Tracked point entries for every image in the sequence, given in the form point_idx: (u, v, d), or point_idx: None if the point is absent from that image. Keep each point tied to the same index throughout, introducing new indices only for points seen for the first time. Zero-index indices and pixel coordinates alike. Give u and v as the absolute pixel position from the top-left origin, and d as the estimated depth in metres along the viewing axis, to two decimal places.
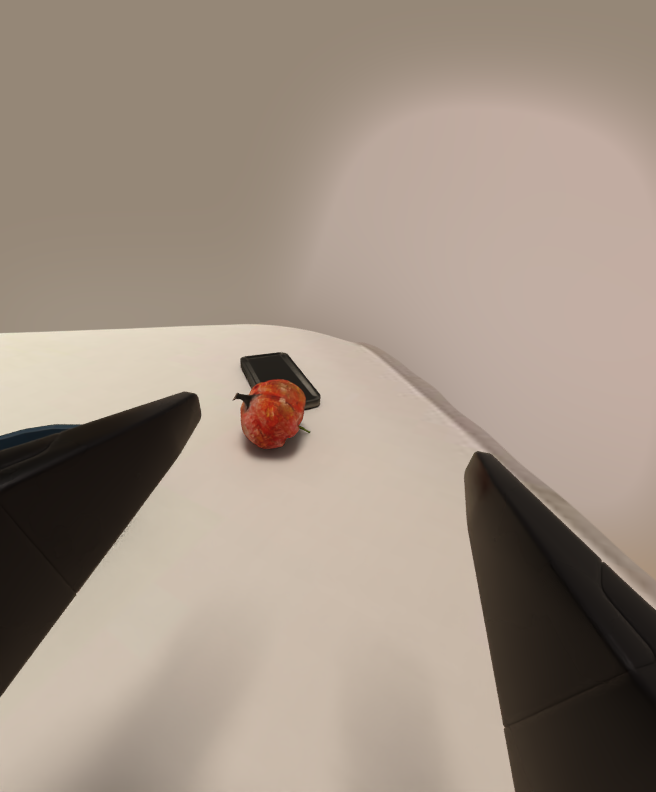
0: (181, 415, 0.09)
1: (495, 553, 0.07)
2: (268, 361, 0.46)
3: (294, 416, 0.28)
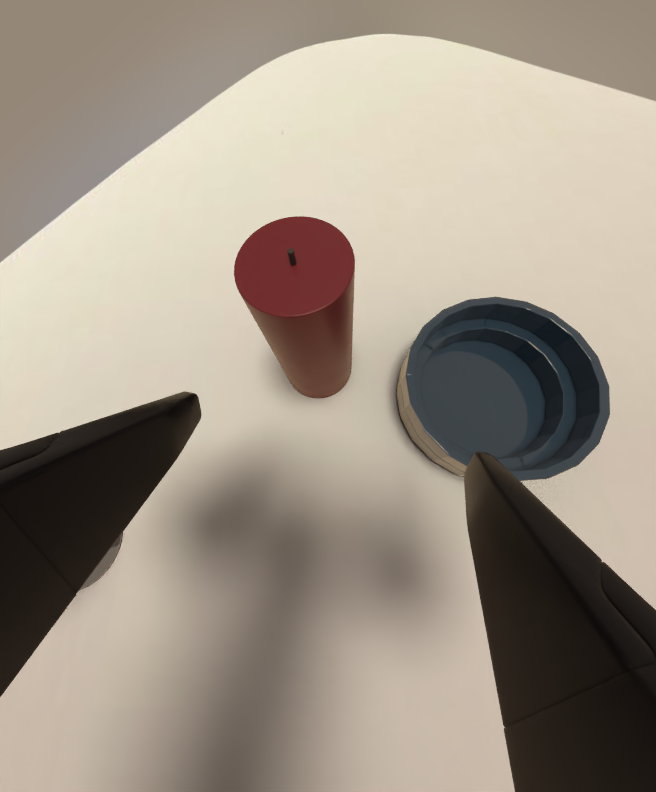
0: (181, 415, 0.09)
1: (495, 553, 0.07)
2: None
3: None
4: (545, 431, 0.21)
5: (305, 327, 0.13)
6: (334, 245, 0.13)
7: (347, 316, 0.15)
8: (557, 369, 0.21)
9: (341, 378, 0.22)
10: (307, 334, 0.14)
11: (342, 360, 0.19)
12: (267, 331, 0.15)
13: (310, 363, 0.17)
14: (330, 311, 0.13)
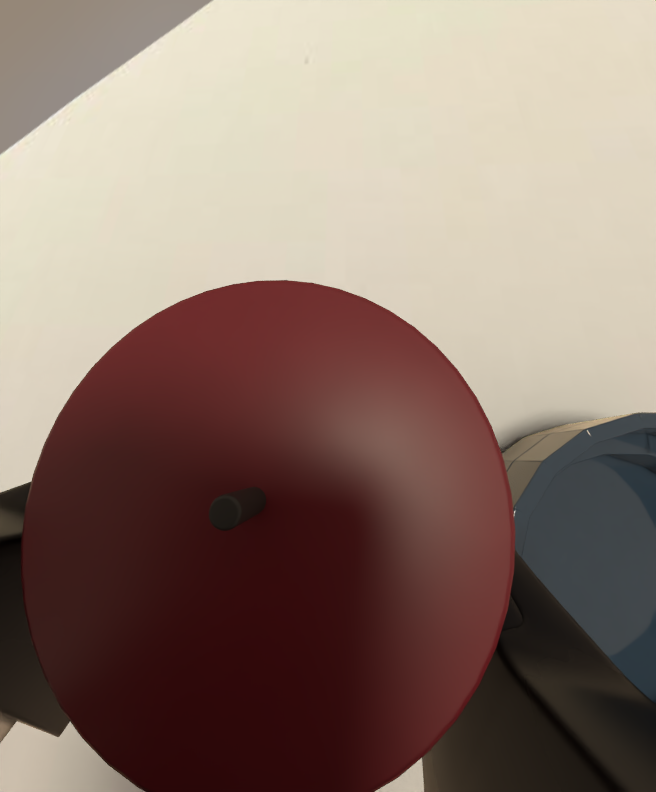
0: None
1: None
2: None
3: None
4: None
5: None
6: (428, 435, 0.03)
7: None
8: None
9: None
10: None
11: None
12: None
13: None
14: None
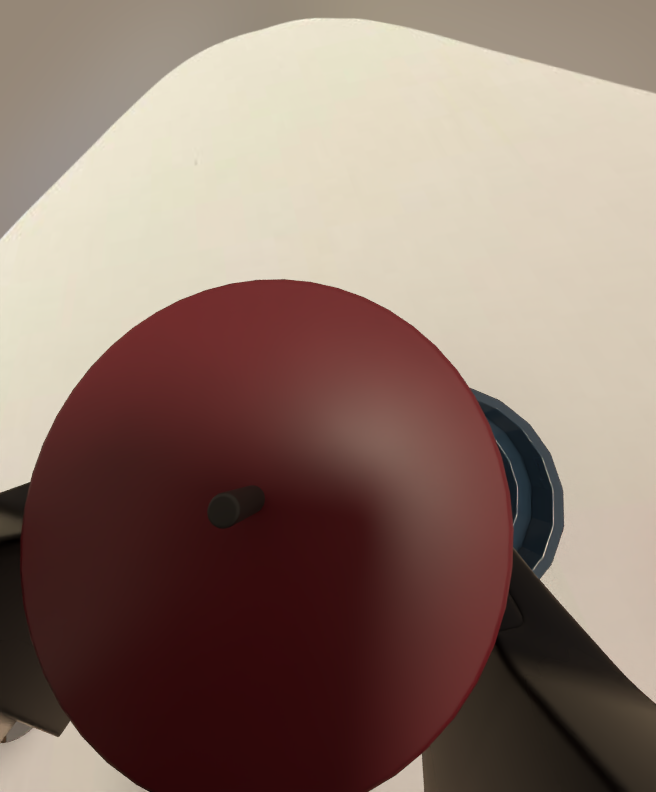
0: None
1: None
2: None
3: None
4: None
5: None
6: (427, 434, 0.03)
7: None
8: (509, 457, 0.19)
9: None
10: None
11: None
12: None
13: None
14: None
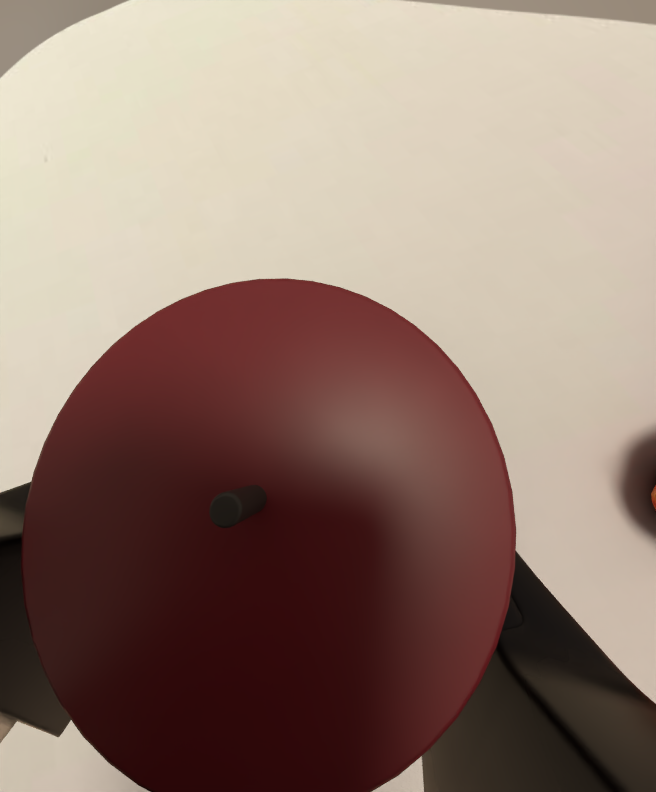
0: None
1: None
2: None
3: None
4: None
5: None
6: (429, 433, 0.03)
7: None
8: None
9: None
10: None
11: None
12: None
13: None
14: None
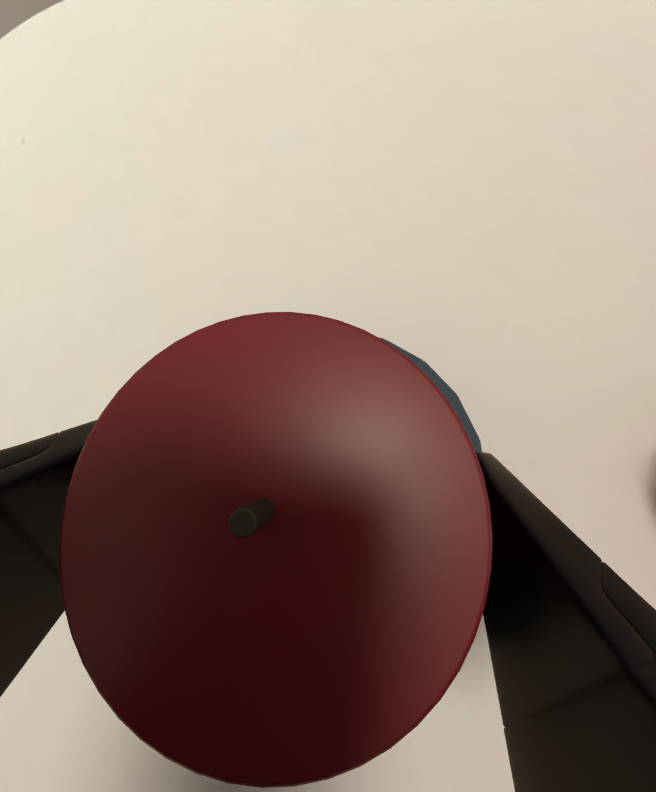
0: None
1: (495, 553, 0.07)
2: None
3: None
4: None
5: None
6: (417, 452, 0.04)
7: None
8: None
9: None
10: None
11: None
12: None
13: None
14: None
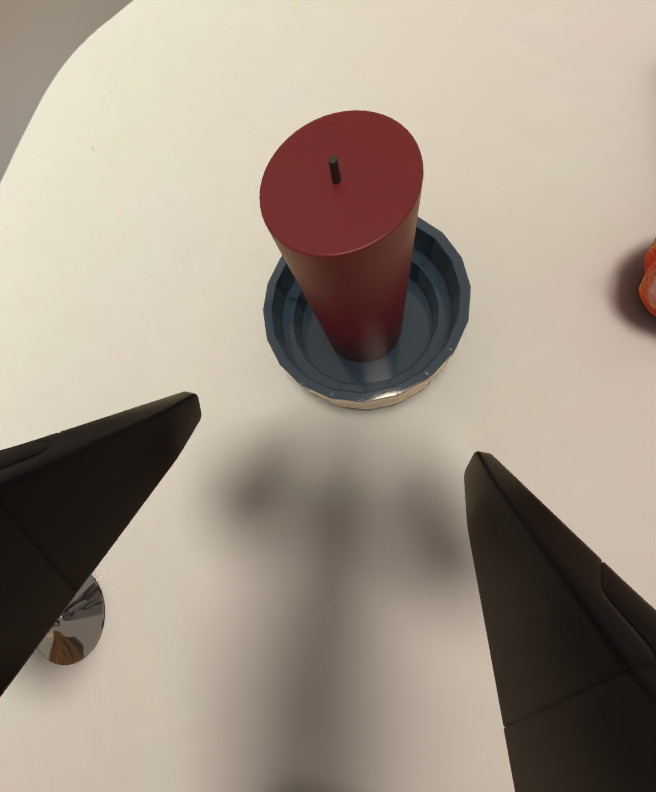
0: (181, 415, 0.09)
1: (495, 553, 0.07)
2: None
3: None
4: (433, 329, 0.20)
5: (358, 269, 0.10)
6: (391, 145, 0.09)
7: (409, 251, 0.11)
8: (419, 263, 0.20)
9: (393, 336, 0.19)
10: (360, 279, 0.11)
11: (397, 314, 0.16)
12: (307, 282, 0.12)
13: (360, 319, 0.14)
14: (392, 242, 0.10)
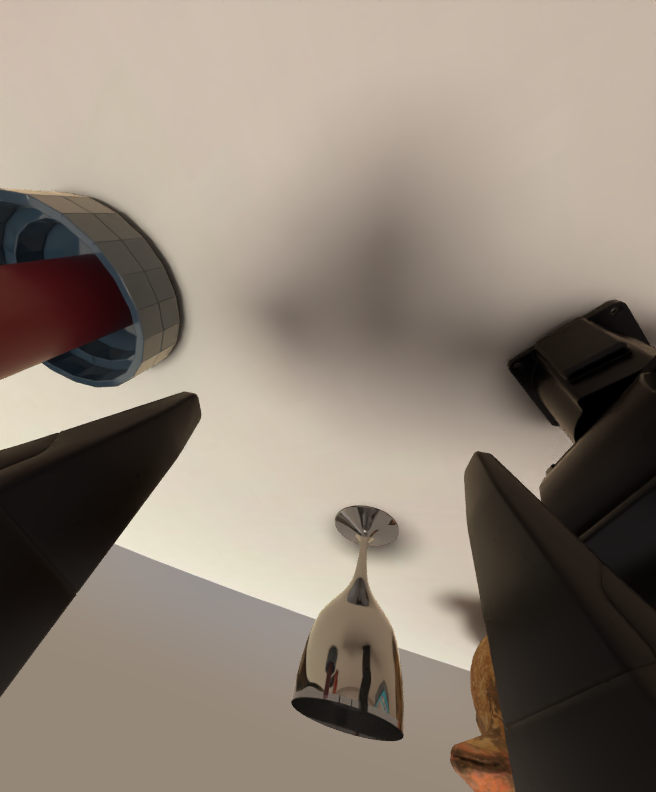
0: (181, 415, 0.09)
1: (495, 553, 0.07)
2: None
3: None
4: None
5: None
6: None
7: None
8: (14, 235, 0.20)
9: (86, 271, 0.19)
10: None
11: (36, 277, 0.17)
12: None
13: (32, 321, 0.16)
14: None
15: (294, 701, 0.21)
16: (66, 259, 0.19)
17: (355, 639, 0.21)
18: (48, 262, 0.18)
